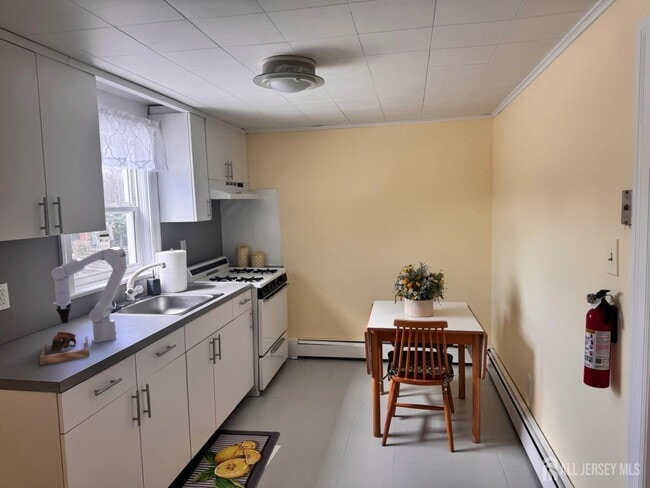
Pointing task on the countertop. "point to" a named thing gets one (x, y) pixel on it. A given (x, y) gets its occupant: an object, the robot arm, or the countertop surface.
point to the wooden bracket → (63, 354)
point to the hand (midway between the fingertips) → (65, 321)
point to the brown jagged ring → (65, 341)
